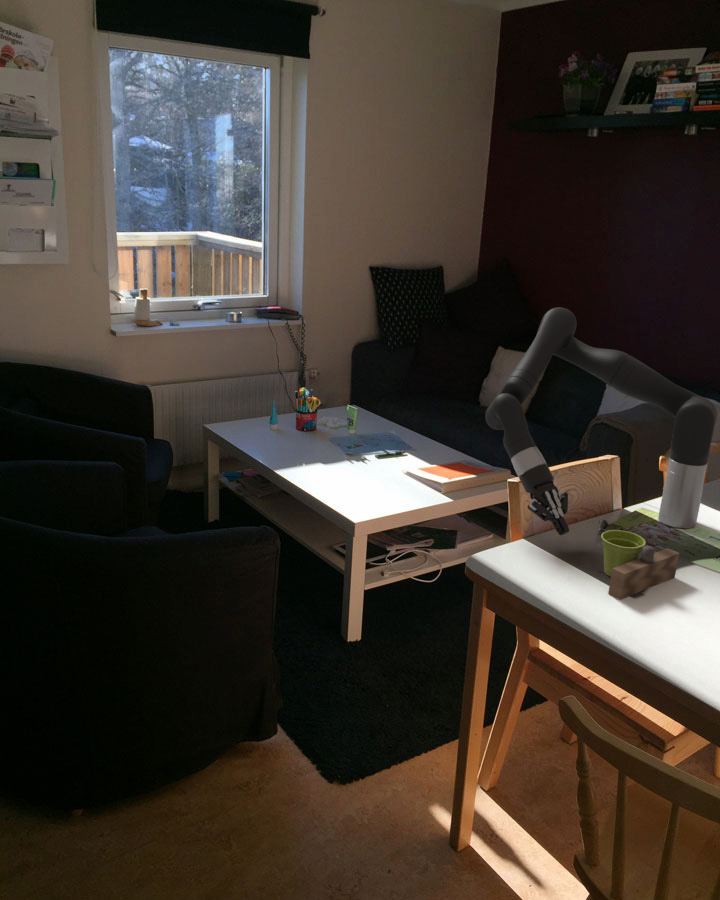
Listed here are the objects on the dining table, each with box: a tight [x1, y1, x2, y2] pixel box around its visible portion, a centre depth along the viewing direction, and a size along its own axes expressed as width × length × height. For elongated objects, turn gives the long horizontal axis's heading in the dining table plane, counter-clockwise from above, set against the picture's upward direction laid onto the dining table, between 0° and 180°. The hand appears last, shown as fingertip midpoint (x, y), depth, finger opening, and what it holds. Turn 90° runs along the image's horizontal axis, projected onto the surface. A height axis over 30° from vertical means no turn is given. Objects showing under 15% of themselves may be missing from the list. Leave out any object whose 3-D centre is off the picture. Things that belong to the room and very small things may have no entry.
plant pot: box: [601, 529, 646, 578], centre depth 179 cm, size 9×9×9 cm
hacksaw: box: [594, 519, 629, 556], centre depth 197 cm, size 24×10×2 cm, turn 160°
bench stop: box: [607, 545, 680, 600], centre depth 174 cm, size 20×3×9 cm, turn 126°
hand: (564, 533), depth 191 cm, fingers closed
